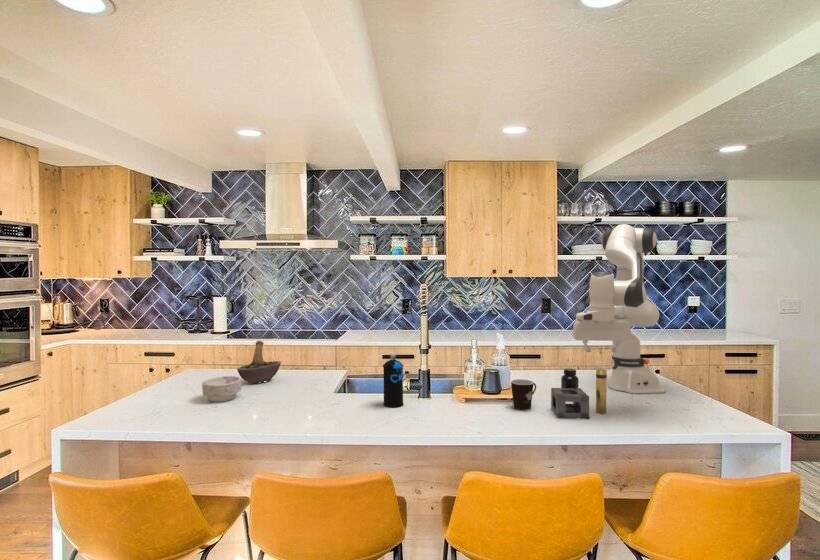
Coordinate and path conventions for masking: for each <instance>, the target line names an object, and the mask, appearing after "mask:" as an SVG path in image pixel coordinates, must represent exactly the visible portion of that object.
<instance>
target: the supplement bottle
mask: <svg viewBox="0 0 820 560" xmlns="http://www.w3.org/2000/svg"><path fill="white" fill-rule="evenodd" d="M560 381H561V383H560V388H579V382H580V381H579V377H578V376H577V370H576V369H574V368H563V375H562V376H561V379H560Z"/></svg>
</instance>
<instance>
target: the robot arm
mask: <svg viewBox="0 0 820 560" xmlns="http://www.w3.org/2000/svg"><path fill="white" fill-rule="evenodd" d="M657 237H658V236H657V234H656V231H655V230H654V229H653V228H651V227H643V228H642V227H634V226H632V225H629V224H627V223H623V224H618V225H616V226H615V227H614V228H612V229H609V230H606V231H604V233H603V234H602V238H601V245H602V249H603V250H604V253H605V257H606V259H607V261H608V262H609V263H611V264H612V265H613V266H617V267H616V274H615V275H616V277H615V278H614V273H613V272H610V271H596V272H594V273H591V275H590V280H589V290H588V297H589V305H588V310H583V311H582V312H577V313H575V318H576V320H575V321H574V322H573V327H572V337H573V339H574V340H577V341H582V344H583V346H584V347H585V352H586V353H592V347H591V346H589V345H588V343H589V341H612V342H611V343H612V347H611V353H612V355H611V369H612V370H611V375H610V380H609V384H608V387H609V388H610V389H612V390H616V391H620V392H626V393H629V394H660V393H663V394H664V393H666V388H665V387H664V386H663V385H660V380H659V377H658V376H657V375H656V373H654V372H653V371H652V370H650V369H649V368H648V367H647V366H645V365H648V364H649V363H650V362H649V360H648V359H646V358H642V357H641V341H640V339H639V338H638V336H636V335H634V334H632V331H631V327H635V328H636V327H637V328H646V327H654V326H655V325H656V324H657V323H658V322H659V319H660V311H659V309H658V307H657V306H656V305H655V304H654V303H652V302H651V301H650V300H649V298H648V297H647V293H646V292H647V291H646V288H645V281H644V280H645V279H644V278H645V277H644V273H645V261H644V256H645V257H646V256H647V255H648V254H649V253H651V252H652V251H654V249H655V248H656V246H657V243H658V238H657Z"/></svg>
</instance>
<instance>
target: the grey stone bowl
mask: <svg viewBox="0 0 820 560" xmlns="http://www.w3.org/2000/svg"><path fill="white" fill-rule="evenodd" d="M201 386H202V388H201V389H202V395H203V396H204V397H205V396H206V397H207V399H208V400H209V401H210V402H216V403H218V402H220V403H221V402H227V401H230V400H233V399H234V398H236V396H237V395H238V393H240V392H241V391H242V388H243V386H242V378H241V376H236V375H234V376H233V375H228V376H227V375H226V376H217V377H213V378H208V379H206V380H204V381H203V382H202V385H201Z"/></svg>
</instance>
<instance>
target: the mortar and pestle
mask: <svg viewBox="0 0 820 560" xmlns="http://www.w3.org/2000/svg"><path fill="white" fill-rule="evenodd" d="M263 346H264V342H263V341H262V340H257V341H256V342H255V349H254V354H253V357H252V362H251V363H249V364H245V365H243V366H240V367H237V369H236V370H237V373H238V375H239V377H240V378H241V380H244V382H247V383H248V384H249V383H258V384H260V383H259V382H264V381H268V380H270V381H271V380H272V378H273V377H275V376H276V375H277V373H278V371H279V369H280V366H281V364H282V363H281V361H275V360H274V361H265V360H264V357H263ZM268 382H269V381H268ZM264 383H265V382H264Z"/></svg>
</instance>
